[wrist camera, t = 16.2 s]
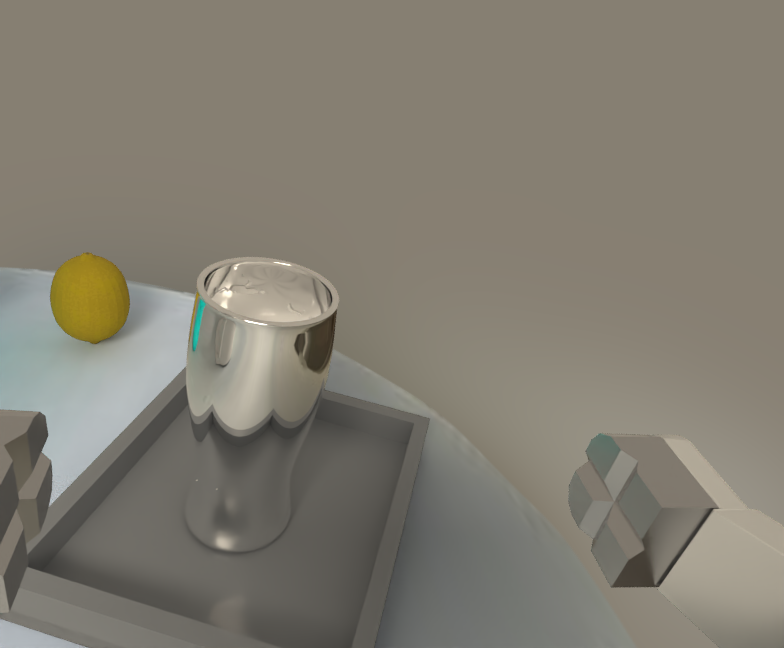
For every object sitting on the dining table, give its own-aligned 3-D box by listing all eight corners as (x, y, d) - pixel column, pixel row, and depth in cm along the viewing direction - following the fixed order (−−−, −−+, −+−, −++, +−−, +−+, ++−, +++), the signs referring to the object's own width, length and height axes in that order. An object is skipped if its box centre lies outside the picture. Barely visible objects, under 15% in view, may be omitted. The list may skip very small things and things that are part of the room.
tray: (-8, 616, 28) (-18, 575, 27) (196, 387, 46) (197, 355, 44) (351, 733, 26) (361, 697, 25) (421, 449, 44) (429, 418, 42)
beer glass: (215, 453, 38) (238, 242, 31) (315, 490, 37) (362, 283, 30) (150, 532, 32) (158, 293, 25) (267, 579, 31) (311, 346, 24)
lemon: (116, 366, 46) (109, 274, 42) (42, 356, 46) (29, 262, 42) (141, 330, 51) (138, 245, 47) (75, 320, 50) (66, 234, 46)
